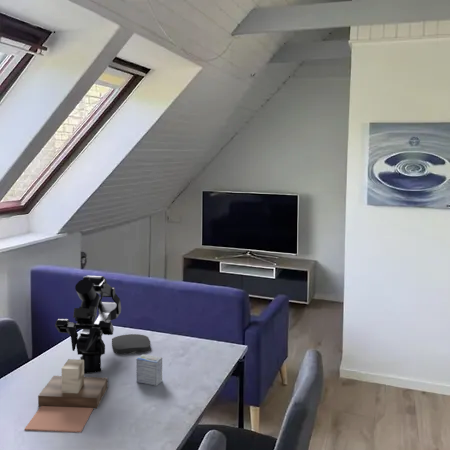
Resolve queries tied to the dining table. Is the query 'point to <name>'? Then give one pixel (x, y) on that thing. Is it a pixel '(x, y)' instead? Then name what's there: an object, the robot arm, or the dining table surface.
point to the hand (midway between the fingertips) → (79, 350)
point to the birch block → (72, 376)
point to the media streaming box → (131, 344)
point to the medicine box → (149, 369)
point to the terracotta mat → (59, 419)
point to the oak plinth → (84, 398)
